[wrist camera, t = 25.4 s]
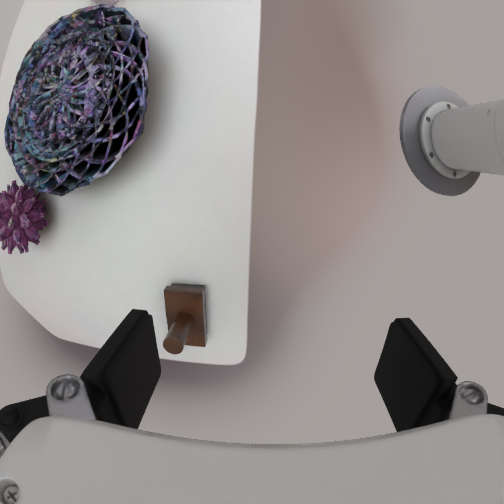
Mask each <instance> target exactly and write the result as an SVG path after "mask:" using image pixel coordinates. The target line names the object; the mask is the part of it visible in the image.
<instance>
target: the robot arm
mask: <svg viewBox="0 0 504 504" xmlns="http://www.w3.org/2000/svg"><path fill="white" fill-rule="evenodd" d="M419 137H420V143H421V147H422V150H423V153H424V155H425V157H426V159H427V161H428V162H429V164H430V166H431V167H432V168H433V169H434V170H435V171H436V172H437V173H439V174H440V175H442V176H444V177H447V178H451V179H459V178H462V177H464V176H466V175H467V174H468V173H469V172H470V171H476V172H484V173H491V174H498V175H504V100H499V101H492V102H487V103H480V104H475V105H470V106H464V107H458V106H456V105H455V104H452V103H450V102H445V101H443V102H437V103H434V104H432V105H430V106H429V107H428V108H427V109H426V110H425V112H424V113H423V115H422V118H421V121H420V127H419ZM429 154H430V155H429ZM160 375H161V366H160V360H159V355H158V349H157V343H156V337H155V331H154V324H153V318H152V315H149V314H148V312H147V311H146V310H137V309H132V310H131V311H130V313H129V314H128V315H127V316H126V317H125V319H124V320H123V321H122V322H121V324H120V325H119V326H118V327H117V329H116V330H115V331H114V332H113V334H112V335H111V336H110V337H109V339H108V340H107V341H106V343H105V344H104V345H103V346H102V348H101V349H100V350H99V352H98V353H97V354H96V355H95V357H94V358H93V359H92V361H91V362H90V363H89V365H88V366H87V367H86V369H85V370H84V371H83V373H82V375H81V376H80V378H79V377H78V376H75V375H70V374H67V375H61V376H58V377H56V378H54V379H53V380H52V381H51V382H50V383H49V384H48V386H47V388H46V396H42V397H38V398H34V399H30V400H26V401H23V402H19V403H14V404H10V405H8V406H5V407H4V408H2V409H1V410H0V504H504V408H501V407H498V406H495V405H492V404H489V403H487V402H488V397H487V393H486V391H485V389H484V388H483V387H482V386H480V385H479V384H477V383H475V382H470V381H465V382H462V383H460V384H459V385H458V386H457V385H456V383H455V382H456V380H457V376H456V375H455V373H454V372H453V371H452V370H451V368H450V367H449V366H448V364H447V363H446V362H445V361H444V359H443V358H442V357H441V355H440V354H439V353H438V352H437V350H436V349H435V348H434V347H433V346H432V344H431V343H430V342H429V341H428V340H427V338H426V337H425V336H424V335H423V333H422V332H421V331H420V330H419V328H418V327H417V326H416V325H415V324H414V323H413V322H412V320H411V319H410V318H397V319H395V320H394V322H392V323H391V325H390V327H389V331H388V334H387V337H386V341H385V344H384V347H383V350H382V353H381V356H380V359H379V362H378V365H377V368H376V371H375V375H374V380H375V383H376V385H377V387H378V389H379V392H380V394H381V396H382V398H383V401H384V403H385V405H386V407H387V409H388V412H389V414H390V417H391V419H392V421H393V424H394V426H395V428H396V431H397V432H396V433H390V434H385V435H379V436H374V437H367V438H360V439H353V440H344V441H335V442H323V443H308V444H241V443H227V442H214V441H205V440H197V439H189V438H182V437H176V436H170V435H164V434H158V433H153V432H148V431H142V430H138V427H139V424H140V422H141V420H142V417H143V415H144V413H145V410H146V408H147V405H148V403H149V401H150V398H151V396H152V394H153V391H154V389H155V387H156V384H157V382H158V380H159V378H160Z"/></svg>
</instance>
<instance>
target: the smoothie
mask: <svg viewBox="0 0 504 504" xmlns="http://www.w3.org/2000/svg"><path fill="white" fill-rule="evenodd" d="M91 1H93V2H95V3H97V4H98V5H100V4H106V5H110V6H112V5H114V4H115V3H116V2H117V1H118V0H91Z"/></svg>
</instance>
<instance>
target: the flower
mask: <svg viewBox="0 0 504 504" xmlns="http://www.w3.org/2000/svg"><path fill="white" fill-rule="evenodd" d="M34 189H35V188H34V187H30V188H29V189H28V185H26V184H24V186H20V187H18V185H17V184H16V180H15V181H12V185H11V188H10V185H7V193H6V191H2V193H0V242H1V241H2V247H1V248H2V250H5V249H6V247H8V254H12V251H13V249H14V248H15V246H17V247H18V249H19V250H20V253H21V254H22V253H23V252H24V250H25V252H28V241H30V242H33V243H35V244H36V245H38V243H40V242H39V240H38V239H39V238H40V235H39V234H38V231H37V230H43V228H44V227H43V226H48V223H49V221H47V220H45V219H44V218H43V217H44V216H45V213H44V212H43V211H45V210H46V207H45V206H43V205H44V204H45V203H46V199H44V200H42V201H37V199H38V197H39V196H40V195H41V193H40V192H39V193H38V194H37V195H34Z"/></svg>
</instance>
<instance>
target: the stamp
mask: <svg viewBox="0 0 504 504" xmlns="http://www.w3.org/2000/svg"><path fill="white" fill-rule="evenodd" d="M164 298H165V307H166V316H167V324H168V333H167V335H166V337H165V339H164V341H163V346H164V348H165V350H166V351H167V352H169V353H171V354H179V353H181V352H182V350H183V348H184V345H190V346H201V347H205V346H206V343H207V327H206V306H205V286H202V285H186V284H171V286H166V288H165V289H164Z"/></svg>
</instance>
